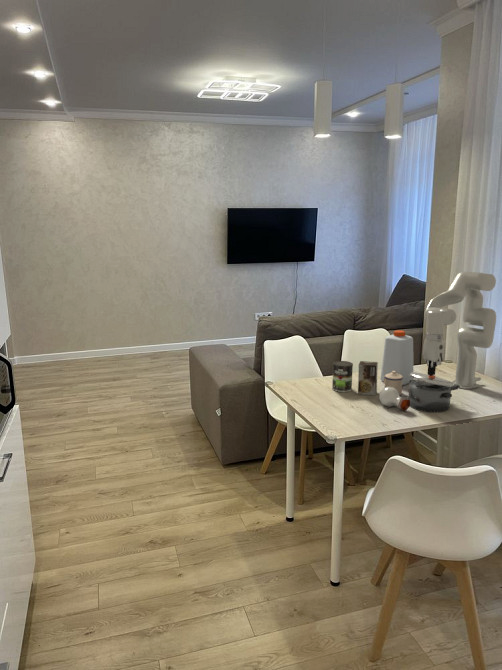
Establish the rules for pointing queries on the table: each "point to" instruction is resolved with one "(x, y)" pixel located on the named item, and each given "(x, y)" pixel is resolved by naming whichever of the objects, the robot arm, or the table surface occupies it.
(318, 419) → the table surface
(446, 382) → the lid
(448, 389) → the pot
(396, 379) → the teacup with lid
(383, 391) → the potion bottle
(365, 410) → the table surface
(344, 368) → the coffee can
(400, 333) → the plastic bottle
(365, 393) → the coffee box
